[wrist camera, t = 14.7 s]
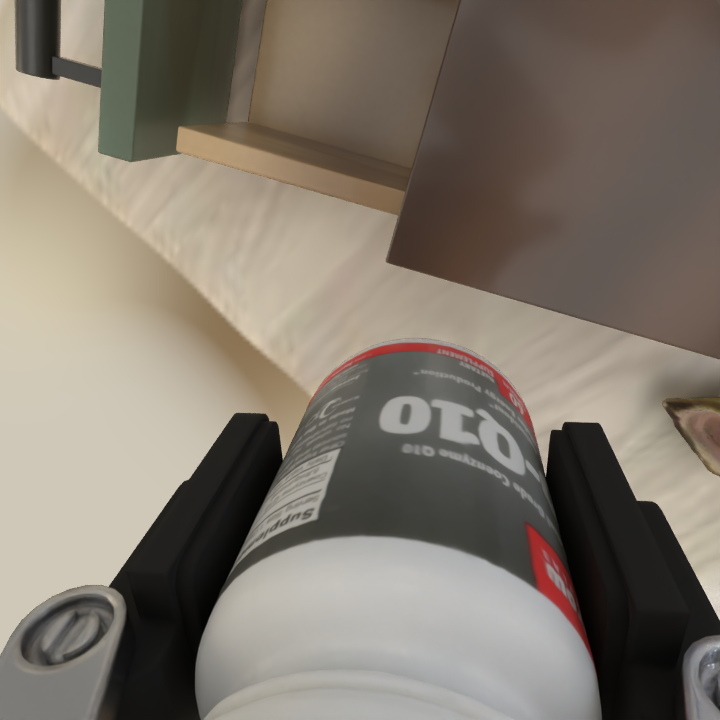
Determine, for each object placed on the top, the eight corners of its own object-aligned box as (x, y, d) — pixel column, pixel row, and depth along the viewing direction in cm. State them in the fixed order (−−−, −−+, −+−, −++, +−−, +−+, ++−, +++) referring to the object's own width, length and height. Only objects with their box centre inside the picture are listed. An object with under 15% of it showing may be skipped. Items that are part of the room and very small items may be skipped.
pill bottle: (580, 426, 11) (851, 1070, 4) (431, 554, 13) (411, 1151, 6) (396, 283, 11) (276, 724, 3) (267, 441, 13) (-3, 949, 5)
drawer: (96, 111, 26) (-45, 111, 18) (108, -161, 22) (-71, -304, 14) (458, 215, 25) (465, 259, 18) (542, -40, 21) (596, -121, 14)
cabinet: (405, 210, 27) (385, 263, 17) (484, -69, 22) (514, -197, 13) (681, 289, 26) (806, 385, 17) (822, 25, 22) (1099, -36, 12)
